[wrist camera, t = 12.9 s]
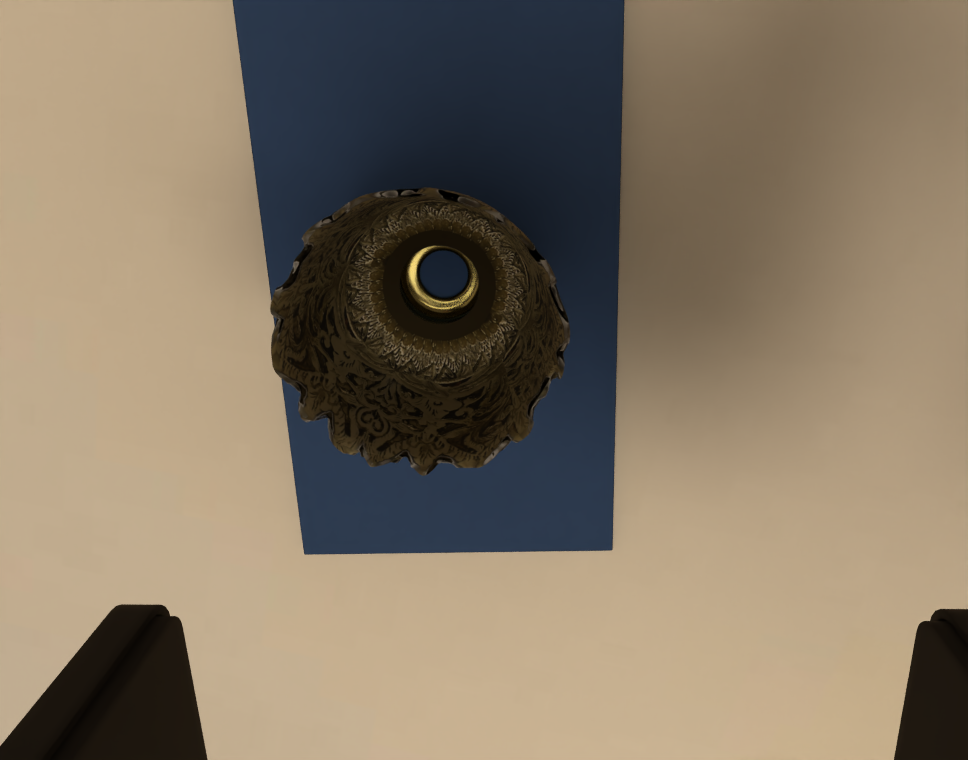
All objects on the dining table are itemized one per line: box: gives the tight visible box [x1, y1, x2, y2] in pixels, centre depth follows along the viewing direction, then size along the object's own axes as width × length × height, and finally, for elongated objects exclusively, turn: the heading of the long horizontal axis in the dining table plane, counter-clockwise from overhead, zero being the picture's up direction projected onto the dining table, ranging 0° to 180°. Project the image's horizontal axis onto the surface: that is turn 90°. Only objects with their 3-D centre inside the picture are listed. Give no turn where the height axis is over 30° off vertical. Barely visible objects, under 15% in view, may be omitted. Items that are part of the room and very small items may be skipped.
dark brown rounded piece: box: [271, 187, 570, 476], centre depth 23 cm, size 8×7×8 cm
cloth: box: [233, 0, 624, 554], centre depth 27 cm, size 12×22×1 cm, turn 2°
